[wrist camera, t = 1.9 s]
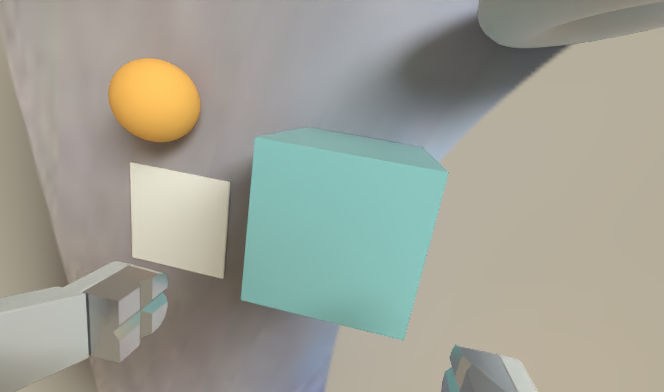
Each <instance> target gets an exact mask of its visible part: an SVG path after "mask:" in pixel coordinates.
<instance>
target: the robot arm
mask: <svg viewBox="0 0 664 392" xmlns="http://www.w3.org/2000/svg"><path fill="white" fill-rule="evenodd" d="M167 288H168V277H167V275H166V274H165V273H162V272H158V271H155V270H151V269H147V268H143V267H140V266H136V265H132V264H128V263H124V262H120V261H113V262H111V263H109V264H107V265H105V266H103V267H101V268H99V269H97V270H95V271H94V272H92V273H90V274H88V275H86V276H84V277H82V278H80V279H78V280H76V281H74V282H72V283H71V284H69V285H67V286H65V287H63V288H62V287H58V286H57V287H52V288H47V289H42V290H37V291H32V292H27V293H22V294H18V295H13V296H7V297H3V298H0V392H15V391H17V390H19V389H21V388H24V387H26V386H28V385H30V384H32V383H35V382H37V381H39V380H41V379H43V378H45V377H47V376H50V375H52V374H54V373H56V372H58V371H60V370H63V369H65V368H67V367H69V366H71V365H74V364H76V363H78V362H80V361H82V360H85V359H87V358H89V356H93V357H97V358H101V359H105V360H109V361H113V362H117V363H121V362H122V361H123V360H124V359H125V358H126V357H127V356H128V355H129V354H131V353H132V352H133V351H134V350H135V349H136V348H137V347H138V346H139V345H140V339H141V338H142V337H145V336H147V335H150V334H152V333H153V332H154V331H155V330H156V329H157V328H158V327H159V326H160V325H161V323H162V321H163V319H164V318H165V315H166V312H167V307H168V300H167V299H166V297H165V295H164V293H163V292H164V291H165V290H166V289H167ZM450 361H451V364H452V367H451V368H450V369H448V370H447V371H445V374H444V378H443V381H442V391H441V392H538V391H537V389H536V387H535V386H534V384H533V382H532V380H531V378H530V377H529V375H528V373H527V371H526V370H525V368H524V366H523V364H522V363H521V361H519V360H518V359H517V358H514V357H509V356H505V355H500V354H492V353H488V352H484V351H479V350H475V349H471V348H467V347H463V346H458V345H455V346H454V348H453V349H452V352H451V355H450Z"/></svg>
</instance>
